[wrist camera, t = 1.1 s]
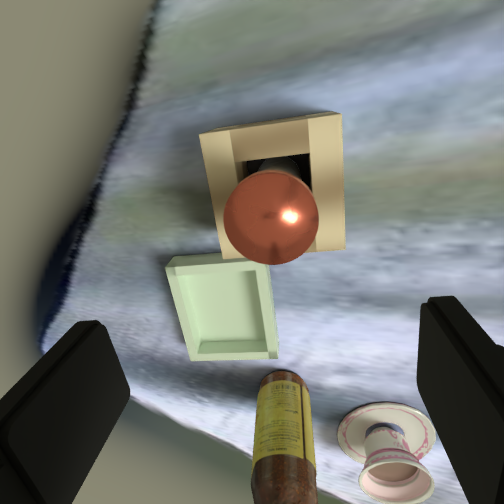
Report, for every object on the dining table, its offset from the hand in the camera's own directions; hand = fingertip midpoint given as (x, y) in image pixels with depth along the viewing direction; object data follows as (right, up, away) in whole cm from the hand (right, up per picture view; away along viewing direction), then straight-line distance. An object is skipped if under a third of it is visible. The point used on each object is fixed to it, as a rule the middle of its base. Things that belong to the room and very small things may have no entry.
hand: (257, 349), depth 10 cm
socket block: (+2, +10, +20) cm, 23 cm away
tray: (-3, -3, +27) cm, 27 cm away
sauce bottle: (+4, -14, +31) cm, 35 cm away
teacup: (+17, -21, +33) cm, 43 cm away
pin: (+2, +10, +21) cm, 23 cm away
